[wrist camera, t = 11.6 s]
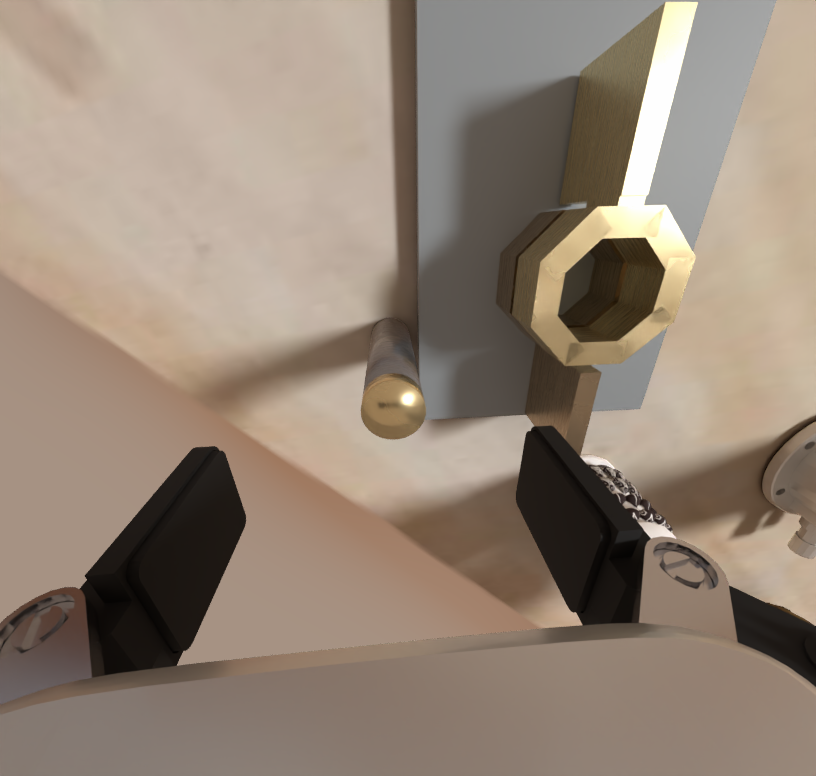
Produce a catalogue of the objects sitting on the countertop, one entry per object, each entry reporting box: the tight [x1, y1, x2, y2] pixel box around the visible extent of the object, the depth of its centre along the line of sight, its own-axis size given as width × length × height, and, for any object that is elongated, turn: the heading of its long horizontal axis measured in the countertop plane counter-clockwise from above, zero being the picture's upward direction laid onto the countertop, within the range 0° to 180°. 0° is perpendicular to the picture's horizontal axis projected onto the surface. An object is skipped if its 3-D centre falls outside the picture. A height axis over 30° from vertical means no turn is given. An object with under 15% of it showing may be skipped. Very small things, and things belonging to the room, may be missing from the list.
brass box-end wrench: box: [512, 2, 698, 366], centre depth 17 cm, size 14×8×6 cm, turn 1°
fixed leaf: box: [496, 210, 628, 456], centre depth 20 cm, size 14×8×6 cm, turn 1°
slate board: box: [415, 0, 776, 420], centre depth 21 cm, size 27×18×1 cm, turn 1°
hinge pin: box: [361, 318, 426, 439], centre depth 19 cm, size 3×3×11 cm
